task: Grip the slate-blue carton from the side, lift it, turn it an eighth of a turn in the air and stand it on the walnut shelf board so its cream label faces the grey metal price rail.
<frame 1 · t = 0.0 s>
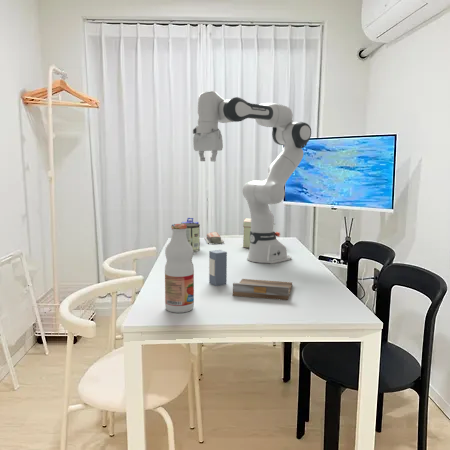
hand: (207, 161, 192), 48 cm above the table, tool pointing down, fingers open, 8 cm apart
shelf board: (263, 290, 164), on the table
fruit juice: (179, 309, 144), on the table
carton: (217, 283, 173), on the table
packaged product: (214, 242, 264), on the table
coffee can: (190, 250, 237), on the table
gift box: (258, 246, 251), on the table
ink cartridge box: (189, 242, 259), on the table
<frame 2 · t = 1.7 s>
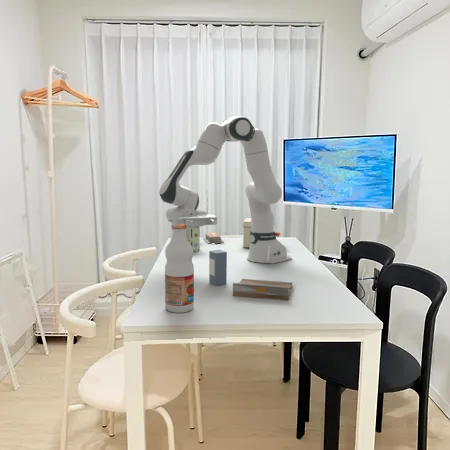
hand: (203, 223, 180), 23 cm above the table, tool horizontal, fingers open, 8 cm apart
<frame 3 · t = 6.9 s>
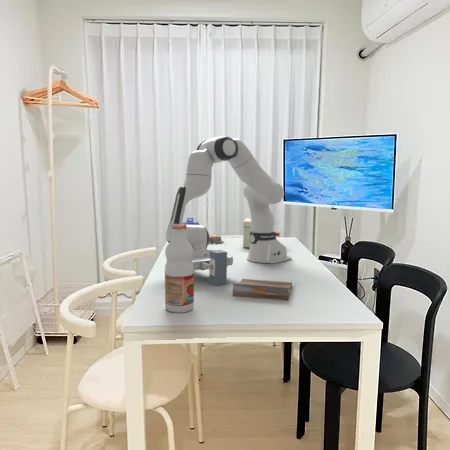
hand: (219, 266, 171), 7 cm above the table, tool horizontal, fingers closed on carton, 5 cm apart
carton: (217, 283, 173), on the table, touching gripper
packaged product: (211, 242, 264), on the table
everything else where it was.
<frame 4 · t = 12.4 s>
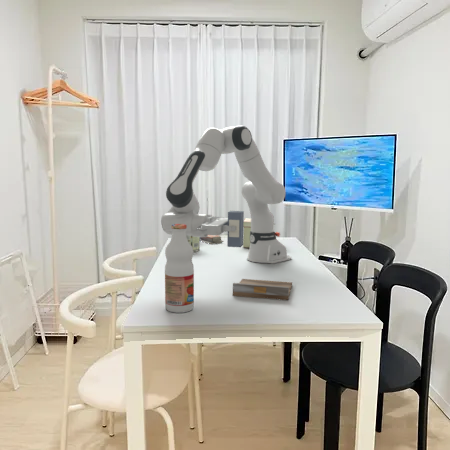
hand: (237, 227, 163), 24 cm above the table, tool horizontal, fingers closed on carton, 5 cm apart
carton: (235, 245, 164), point 17 cm above the table, touching gripper
packaged product: (209, 242, 263), on the table
everything else where it was.
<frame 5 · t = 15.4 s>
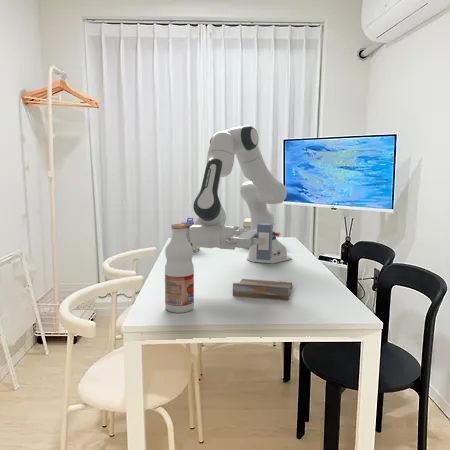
hand: (266, 239, 161), 20 cm above the table, tool horizontal, fingers closed on carton, 5 cm apart
carton: (264, 258, 162), point 12 cm above the table, touching gripper
when the fingers open (9 cm above the table, at t = 18.0 s): carton stays where it is, resting on shelf board.
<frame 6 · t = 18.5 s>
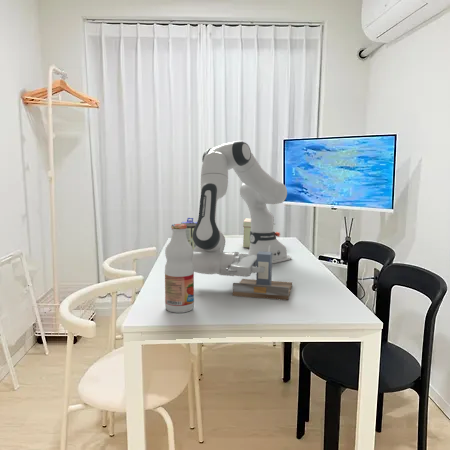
hand: (266, 266, 163), 9 cm above the table, tool horizontal, fingers open, 8 cm apart
carton: (263, 286, 164), point 1 cm above the table, touching shelf board
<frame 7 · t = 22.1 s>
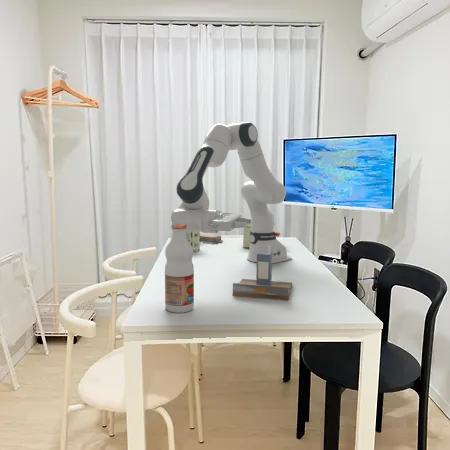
hand: (248, 223, 162), 26 cm above the table, tool horizontal, fingers open, 8 cm apart
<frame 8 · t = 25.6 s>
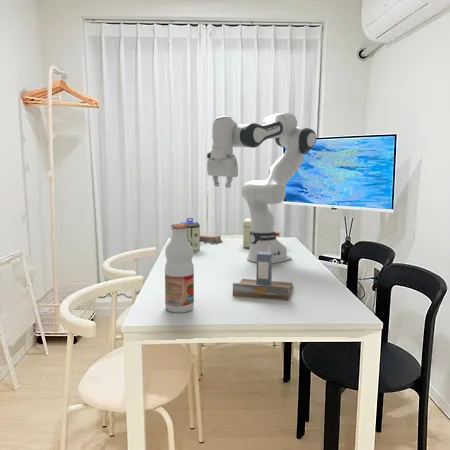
hand: (222, 187, 188), 37 cm above the table, tool pointing down, fingers open, 8 cm apart
at the end: carton inside the target area on the shelf board (0.2 cm from its centre), point 1.5 cm above the shelf board's base; carton tilted 0°; the gripper is holding nothing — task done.
